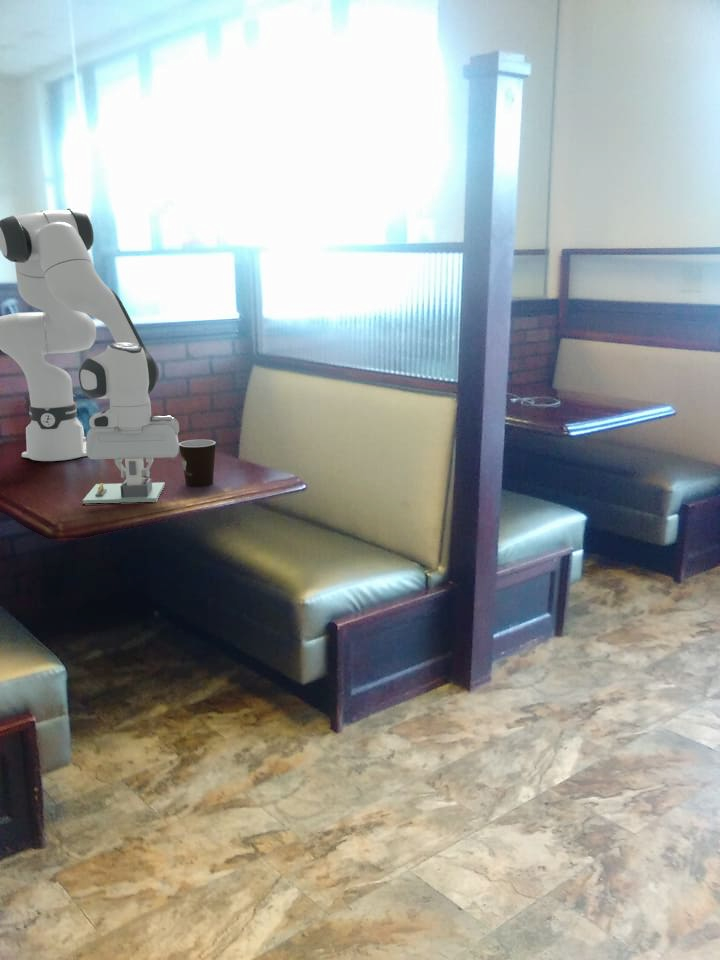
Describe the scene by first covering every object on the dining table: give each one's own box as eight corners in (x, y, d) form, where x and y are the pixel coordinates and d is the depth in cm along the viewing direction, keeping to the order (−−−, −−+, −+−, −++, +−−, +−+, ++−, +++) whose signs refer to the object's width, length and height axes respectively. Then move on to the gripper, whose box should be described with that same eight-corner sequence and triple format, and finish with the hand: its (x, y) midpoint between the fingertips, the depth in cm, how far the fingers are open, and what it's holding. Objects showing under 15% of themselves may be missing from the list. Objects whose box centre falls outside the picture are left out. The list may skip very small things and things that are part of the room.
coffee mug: (216, 488, 206) (214, 446, 203) (179, 489, 205) (176, 447, 203) (219, 476, 217) (218, 436, 215) (184, 476, 216) (182, 437, 214)
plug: (130, 488, 200) (128, 454, 198) (145, 488, 200) (142, 454, 198) (126, 494, 195) (124, 459, 193) (141, 494, 195) (139, 459, 193)
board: (96, 488, 206) (95, 473, 206) (164, 486, 208) (164, 472, 207) (83, 504, 193) (81, 489, 192) (156, 502, 194) (155, 487, 193)
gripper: (180, 413, 198) (183, 472, 201) (88, 415, 196) (93, 474, 200) (176, 418, 192) (180, 479, 195) (81, 420, 190) (87, 481, 193)
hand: (135, 476), depth 197 cm, fingers closed on plug, 3 cm apart
